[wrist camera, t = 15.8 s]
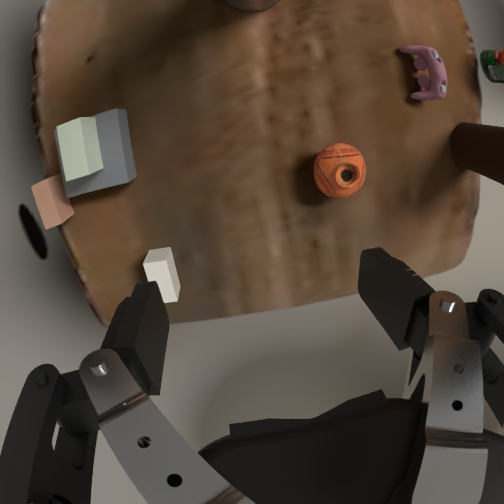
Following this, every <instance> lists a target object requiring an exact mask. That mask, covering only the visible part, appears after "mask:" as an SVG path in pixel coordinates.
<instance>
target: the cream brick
mask: <svg viewBox="0 0 504 504" xmlns="http://www.w3.org/2000/svg"><path fill="white" fill-rule="evenodd" d="M143 265H144V269H145V272H146V275H147V279H148V282H149V281H156V282H157V283H158V286H159V289H160V292H161V295H162V298H163V302H164V303H168V302H176V301H178V296H179V290H180V283H179V279H178V275H177V271H176V268H175V264H174V260H173V255H172V251H171V247H167V248H161V249H155V250H149V252H148V254H147V256H146V258H145V260H144V262H143Z"/></svg>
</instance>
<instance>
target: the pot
mask: <svg viewBox="0 0 504 504" xmlns="http://www.w3.org/2000/svg"><path fill="white" fill-rule="evenodd" d="M365 176H366V166H365V162H364V159H363V157H362V155H361V153H360V152H359V151H358V150H357V149H356V148H354V147H353V146H351V145H348V144H345V143H334V144H331V145H329V146H327V147H325V148H324V149H322V151H321V152H320V153H319V154H318V156H317V158H316V160H315V162H314V179H315V182H316V184H317V186H318V188H319V189H320V190H321V191H322V192H323V193H324V194H325V195H327V196H329V197H332V198H345V197H348V196H350V195H352V194H354V193H355V192H356V191H358V190H359V188H360V187H361V186H362V184H363V182H364V179H365Z"/></svg>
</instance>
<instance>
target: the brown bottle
mask: <svg viewBox="0 0 504 504" xmlns="http://www.w3.org/2000/svg"><path fill="white" fill-rule="evenodd" d="M452 150H453V155H454V158H455V160H456V162H457V163H458V164H459V165H460V166H461V167H463V168H466V169H468V170H471V171H473V172H476V173H479V174H481V175H483V176H486V177H488V178H490V179H492V180H494V181H497V182H499V183H501V184H503V185H504V127H498V126H489V125H482V124H475V123H467V122H463V123H460V124H459V125H458V126H457V127H456V129H455V131H454V133H453V137H452Z"/></svg>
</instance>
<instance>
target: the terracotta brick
mask: <svg viewBox="0 0 504 504" xmlns="http://www.w3.org/2000/svg"><path fill="white" fill-rule="evenodd" d="M31 188H32V192H33V195H34V198H35V201H36V204H37V207H38V210H39V213H40V216H41V218H42V221H43V224H44V227H45V229H49V228H52V227H54V226H57V225H59V224H62V223H63V222H65V221H66V220H67V219H68V218H70V217H71V216H72V215H74V211H73V209H72V206H71V203H70V200H69V198H67V196H66V192H65V187H64V183H63V178H62V174H61V173H59V174H57V175H54V176H52V177H49V178H47V179H45V180H43V181H41V182H39V183H37V184H35V185H33V186H31Z"/></svg>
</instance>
